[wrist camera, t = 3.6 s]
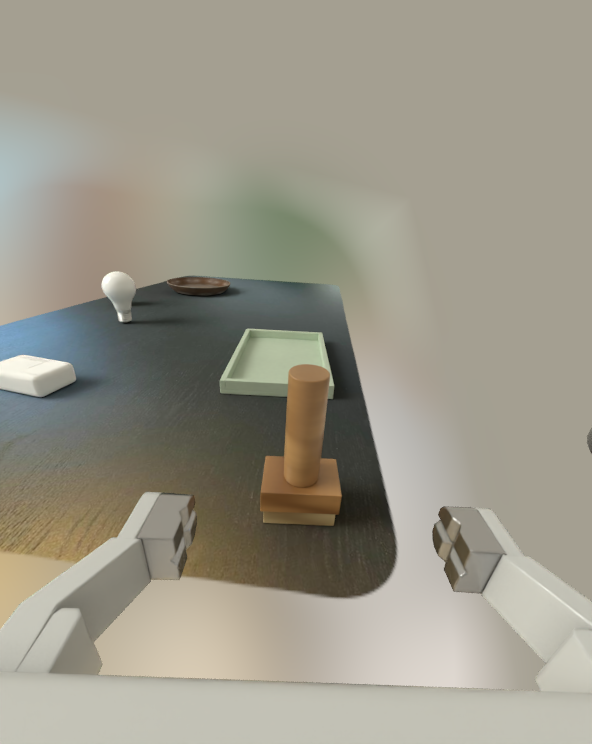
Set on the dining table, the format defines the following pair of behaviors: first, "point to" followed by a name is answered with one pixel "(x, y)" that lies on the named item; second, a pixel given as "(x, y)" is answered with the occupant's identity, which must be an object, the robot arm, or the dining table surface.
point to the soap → (35, 375)
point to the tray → (272, 361)
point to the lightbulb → (120, 293)
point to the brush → (302, 457)
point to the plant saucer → (198, 285)
